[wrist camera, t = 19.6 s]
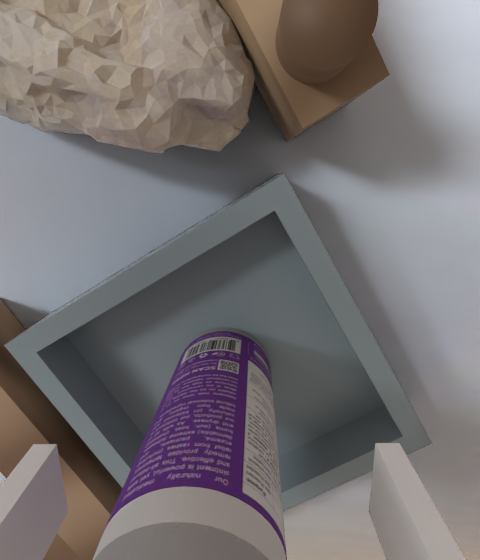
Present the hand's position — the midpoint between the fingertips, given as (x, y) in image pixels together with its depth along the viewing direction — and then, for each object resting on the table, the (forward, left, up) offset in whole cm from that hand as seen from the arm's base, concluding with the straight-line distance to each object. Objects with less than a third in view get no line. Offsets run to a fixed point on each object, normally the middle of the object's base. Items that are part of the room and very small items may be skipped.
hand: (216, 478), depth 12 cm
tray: (0, 0, -8) cm, 8 cm away
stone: (-15, +3, -8) cm, 18 cm away
